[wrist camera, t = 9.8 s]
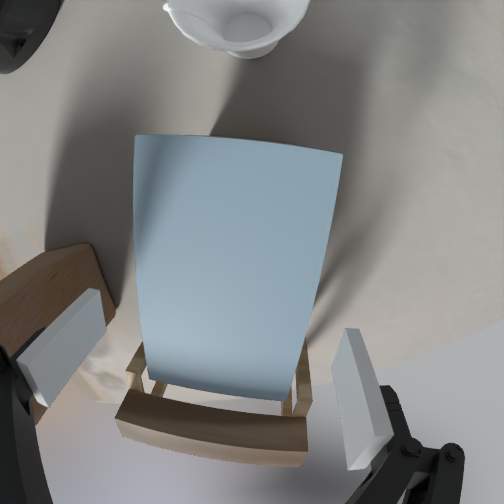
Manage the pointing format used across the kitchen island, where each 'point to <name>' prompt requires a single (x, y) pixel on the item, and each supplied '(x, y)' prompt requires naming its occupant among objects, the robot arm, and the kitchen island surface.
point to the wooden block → (47, 296)
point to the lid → (229, 258)
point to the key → (213, 431)
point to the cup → (237, 23)
